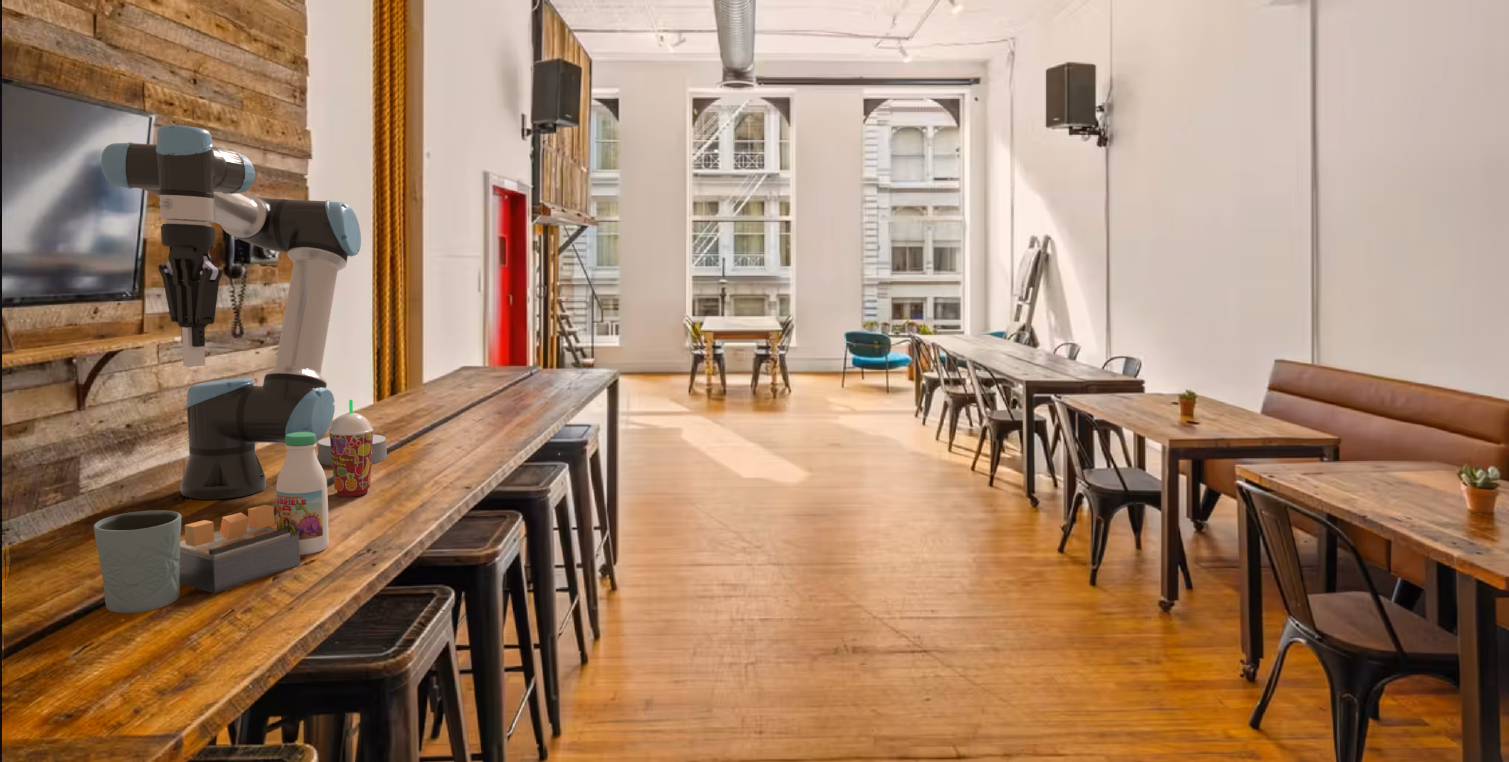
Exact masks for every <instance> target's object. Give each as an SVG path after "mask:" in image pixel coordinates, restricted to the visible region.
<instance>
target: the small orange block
mask: <svg viewBox="0 0 1509 762" xmlns="http://www.w3.org/2000/svg"><path fill="white" fill-rule="evenodd" d="M248 523H249V517H248V515H246V514H244V513H243V512H238V513H234V514H229V515H226V516H223V517H221V523H220V528H219V531H220V533H219V534H220V535H221V536H223V537H224V538H226V539H227V540H229V539H233V538H236V537H240V536H243V535H246V533H247V528H248Z"/></svg>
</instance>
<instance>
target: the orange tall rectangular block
mask: <svg viewBox="0 0 1509 762" xmlns="http://www.w3.org/2000/svg"><path fill="white" fill-rule="evenodd" d="M214 530H215V527H214V521H210V520H206V519H203V520H200V521H196V522H191V523H188V524H187V523H186V524H185V525H184V535H185V536H184V537H185V538H184V540H185V541H186V545H190V546H193V547H195V546H199V545H202V544H206V543H210V542H213V541H214V532H215V531H214Z"/></svg>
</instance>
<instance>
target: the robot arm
mask: <svg viewBox="0 0 1509 762" xmlns="http://www.w3.org/2000/svg"><path fill="white" fill-rule="evenodd" d="M156 133H157V134H156V144H148V143H136V142H135V143H134V142H131V141H130V142H120V143H119V142H118V143H116V142H113V143H110V144H108V145H107V146H105V148H104V149H103V151H102V153H101V160H100V167H101V170H102V174H103V176H104V178H105V179H106V180H107V181H108V182H109V183H110V184H111V185H113V186H115V187H119V188H127V189H140V190H144V191H146V192H148V193H151V194H153V195H155V196H157V197H159V202H158V203H159V204H158V205H159V206H160V207H159V208H160V209H159V210H160V214H159V215H160V219H161V220H162V221H165V223H162V224H161V225H160V238H161V239H160V240H161V245H162V246H163V247H167V248H169V252H168V256H167V258H168V261H167V262H166V263H165V264H159V265H158V266H157V267H158V268H157V269H158V272H159V274H160V275H161V278H162V283H163V287H164V291H165V292H164V293H165V296H166V303H167V307H168V312H169V318H170V321H171V323H176V324H177V325H178V326H179V327H180V332H181V333H180V336H181V345H182V362H183V364H182V365H183V367H187V368H192V367H202V366H206V352H205V346H206V336H205V330H206V328H207V326H209V325H213V324H214V323H215V319H216V318H215V317H216V309H217V308H216V307H217V299H218V294H219V285H220V280H221V278H222V276H223V272H224V270H223V268H222V267H216V266H215V265H214V264H213V263H212V261H213V260H212V256H211V254H210V249H215V248H216V246H217V240H216V239H217V238H216V237H217V236H216V228H215V226H212V224H213V223H216V224H217V225H220V227H221V228H222V229H223V231H224V232H225V233H226V234H229V235H230V236H232V237H234V238H237V239H238V240H240V241H243V242H246V243H248V244H252V245H254V246H257V247H259V248H262V249H266V250H269V251H272V252H279V253H286V254H287V255H286V256H287V258H289V260H290V261H291V262H292V263H293V265H292V271H291V276H290V282H289V287H288V293H287V299H286V304H285V308H284V309H285V310H284V314H283V320H282V325H281V326H282V327H281V330H280V338H279V342H278V348H277V353H276V359H275V363H274V364H275V365H274V368H273V369H271V370H269V371H268V372H267V373H265V375H264V378H263V383H262V385H255V382H254V381H253V378H250V377H237V378H228V379H227V378H226V379H219V380H218V379H217V380H211V381H206V382H200V383H196V384H193V385H192V386H190V387H189V388H188V390H187V393H186V394H187V395H186V406H185V408H186V417H187V437H188V452H189V453H188V454H189V457H188V460H187V463H186V465H185V468H184V471H183V474H182V478H181V480H180V495H181V494H182V495H183V496H182V495H181V496H182V497H184V496H186V497H185V498H187V497H189V498H188V499H192V498H195V499H196V500H221V499H222V500H223V499H224V500H225V499H232V498H233V499H234V498H240V497H245V496H249V495H252V494H256V493H260V492H262V491H263V490H265V489H266V488H267V479H266V475H265V472H264V469H263V466H262V465H261V463H260V460H259V458H258V454H257V453H256V443H264V444H265V443H266V444H267V443H269V444H270V443H271V444H285V436H286V435H287V434H290V433H295V432H311V433H315V434H316V443H318V441H319V440H321V439H323V437H324V436H325V435H326V434H327V432H329V430H330V428H331V426H332V425H331V424H332V422H333V419H334V415H335V408H336V406H335V404H334V403H335V396H334V394H333V392H332V391H331V390H330V389H328V388H327V385H328V383H327V381H326V380H325V379H324V377H323V376H322V374H321V372H322V367H323V361H324V356H325V355H324V354H325V350H326V342H327V337H328V330H329V323H330V320H331V319H330V318H331V313H332V306H333V300H334V294H335V288H336V282H337V277H338V272H339V271H341V270H343V269H345V268H346V267H347V265H348V264H347V262H348V258H349V257H351V258H353V257H354V256H357V255H359V252H360V250H361V246H362V245H361V244H362V234H361V228H360V224H359V220H358V217H357V214H356V213H355V211H354V210H353V208H352V207H351V206H350V205H349V204H347V203H345V202H342V201H341V202H339V201H331V200H305V199H287V198H266V197H265V198H264V197H260V196H259V197H258V196H256V195H254V194H251V193H248V192H247V191H248V190H249V189H250V188H251V187H252V186H253V184H254V182H255V178H256V171H255V166H254V165H253V163H252V161H251V160H250V159H249V158H248V157H247V156H246V155H244V154H242V153H240V152H237V151H236V150H234V149H231V148H227V149H226V148H222V147H219V146H218V147H217V146H214V143H213V138H212V134H211V133H210V131H209V130H207V129H205V128H200V127H196V126H188V125H179V124H164V125H161V126H159V127H158V129H157V132H156ZM195 499H194V500H195Z"/></svg>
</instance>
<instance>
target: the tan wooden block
mask: <svg viewBox="0 0 1509 762" xmlns="http://www.w3.org/2000/svg"><path fill="white" fill-rule="evenodd" d="M274 507H275V506H273V505H269V504H262V505H258V506H254V507H251V508H247V517H249V523H248V525H249V527H250V528H254V529H259V528H263V527H269V526H275V508H274Z"/></svg>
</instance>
